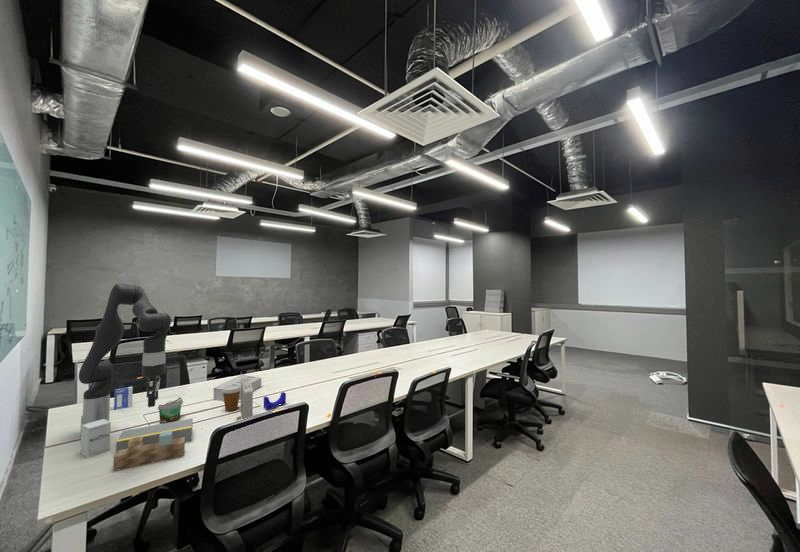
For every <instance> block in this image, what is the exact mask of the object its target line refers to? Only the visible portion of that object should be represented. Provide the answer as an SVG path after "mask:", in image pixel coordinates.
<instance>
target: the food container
mask: <svg viewBox="0 0 800 552" xmlns="http://www.w3.org/2000/svg"><path fill="white" fill-rule="evenodd" d="M183 403H184V401H183V398H182V397H180V396H179V397H177V399H175V400H172V401H168V402H166V403H165V404H158V406H157V410H158V411H159V412H158V413H159V424H164V423H169V422H175V421H180V420H181V419H180V417H181V410H182V405H183Z"/></svg>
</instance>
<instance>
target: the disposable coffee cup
mask: <svg viewBox="0 0 800 552" xmlns="http://www.w3.org/2000/svg"><path fill="white" fill-rule="evenodd" d="M240 390H241V388H240V386H239V385H232V386H227V387H224V388H223V391H222V392H223V395H224V409H225V411H234V410H237V409H238V408H239V406H238V405H239V401H240V399H239V394H240Z"/></svg>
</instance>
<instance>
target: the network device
mask: <svg viewBox="0 0 800 552" xmlns="http://www.w3.org/2000/svg"><path fill="white" fill-rule="evenodd" d="M253 394H254V390H253V389H252V386H251V383H250V380H249V378H241V398H240V415H238V416H236V417H235V419H234V420H235V421H234V422H236V421H237V420H238V421H239V419H241V420H242V419H245V418H248V417H251V416H253V415H254V413H253V409H254V408H253V407H254V406H253V404H254V401H253V400H254V398H253V397H254V395H253ZM241 417H242V418H241Z"/></svg>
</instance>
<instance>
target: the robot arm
mask: <svg viewBox="0 0 800 552" xmlns="http://www.w3.org/2000/svg"><path fill="white" fill-rule="evenodd" d="M107 300H108V301H107V304H106V306H105V310H104V315H103V317H102V319H101V321H100V323H99V325H98V328H97V331H96V333H95V336H94V338H93V339H94V340H93V342H92V345H91V346H90V349H89V351H88V353H87V356H86V357H85V360H84V361H83V362H82V364H81V367H80V369H79V372H78V380H79V382H80V383H81V384H83V385H89V384H95V385H93V386H92V387H90V388H88V389H87V390H85V391H84V392H83V395H82V396H83V397H82V399H83V403H82V406H83V407H82V414H81V417H80V426H81V425H83V424H87V423H91V422H94V421H98V420H102V419H105V420H107V421H109V422H110V415H111V414H110V411H111V410H110V407H111V402H110V401H111V390H112V387H113V376H114V368H113V364H112V362H111V361H109V360H102V359H104V357H105V356H107V354H109V353H110V352H111V351H112V350H113V349H115V348H116V347H117V346H118V345H119V344H120V342H121V340H122V338H123V335H124V333H125V325H124V323H123V321H122V319H121V317H120V315H119V311H118V309H119V306H120V305H126V306H127V305H128V306H129V305H130V306H132V307H131V308H132V310H131V311H132V314H133V315H134V316H135V318H137V320H138V328H139V330H140V331H143V332H147V333H148V332H156V331H157V332H156V334H154V335H152V336H149V337H146V338H144V340H143V347H142V348H143V349H142V350H143V353H142V360H141V364H142V365H141V376H142V377H147V380H146V398H147V407H148V408H152V407H156V401H157V400H158V399H159V390H160V386H161V385H160V384H161V377H160V376H162V375H164V374H165V373H166V363H167V362H166V359H167V358H166V357H167V356H166V339H167V336H168V333H169V330H170V327H171V323H172V318H171V316H170V315H169V314H168V313H166V312H163V313H162V312H160V313H159V312H158V309H156V307H154V306H153V304H152V303H151V302H150V301H149V298H148V296H147V293H146V292H145V289H144V288H143V287H142V286H140V285H136V284H128V283H127V284H126V283H116V284H114V285H113V287H112V288H111V290H110V293H109V297H108V299H107Z"/></svg>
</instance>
